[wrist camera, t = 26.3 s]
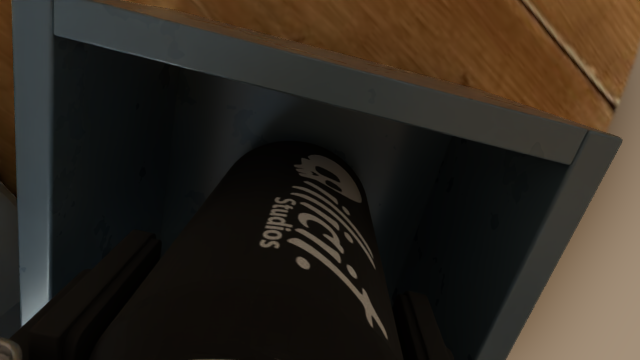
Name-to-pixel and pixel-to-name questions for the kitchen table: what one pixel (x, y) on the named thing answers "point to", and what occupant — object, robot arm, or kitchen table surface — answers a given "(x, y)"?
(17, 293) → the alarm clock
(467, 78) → the kitchen table surface
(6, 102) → the kitchen table surface
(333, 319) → the beverage can
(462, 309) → the grey open box
